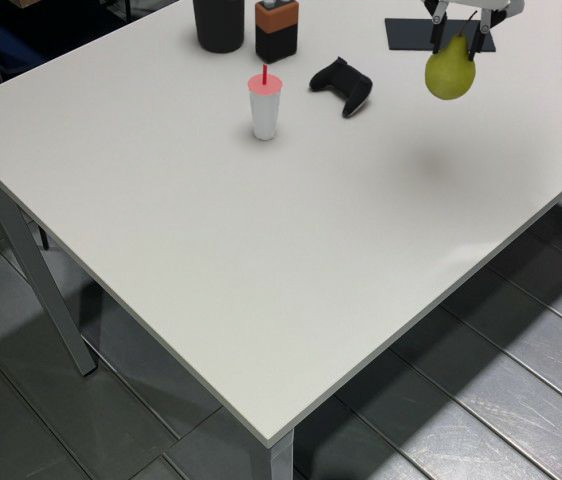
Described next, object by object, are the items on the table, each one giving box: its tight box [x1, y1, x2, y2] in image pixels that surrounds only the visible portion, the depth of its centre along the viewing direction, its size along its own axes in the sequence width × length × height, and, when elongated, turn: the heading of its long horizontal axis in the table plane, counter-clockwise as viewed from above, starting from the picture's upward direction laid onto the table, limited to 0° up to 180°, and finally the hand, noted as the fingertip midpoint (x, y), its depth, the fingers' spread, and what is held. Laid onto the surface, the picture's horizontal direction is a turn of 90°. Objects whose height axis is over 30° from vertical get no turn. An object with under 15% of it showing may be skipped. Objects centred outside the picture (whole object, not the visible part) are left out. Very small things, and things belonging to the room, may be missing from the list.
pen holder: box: [192, 0, 246, 54], centre depth 112 cm, size 9×9×10 cm
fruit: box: [424, 9, 478, 101], centre depth 85 cm, size 7×7×12 cm
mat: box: [384, 17, 497, 53], centre depth 118 cm, size 20×10×1 cm, turn 90°
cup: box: [247, 64, 283, 141], centre depth 98 cm, size 5×5×12 cm
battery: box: [254, 0, 300, 64], centre depth 110 cm, size 4×7×10 cm, turn 125°
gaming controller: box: [308, 55, 374, 118], centre depth 107 cm, size 11×4×7 cm
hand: (454, 51), depth 85 cm, fingers closed on fruit, 4 cm apart
